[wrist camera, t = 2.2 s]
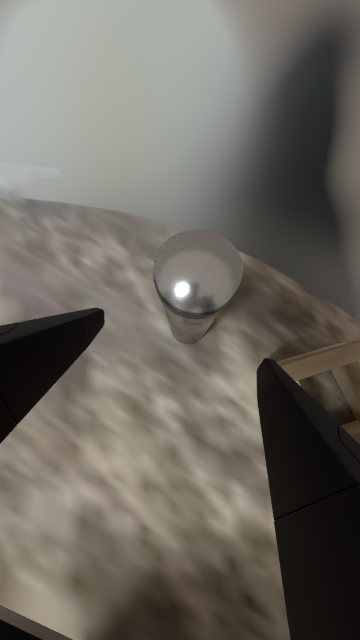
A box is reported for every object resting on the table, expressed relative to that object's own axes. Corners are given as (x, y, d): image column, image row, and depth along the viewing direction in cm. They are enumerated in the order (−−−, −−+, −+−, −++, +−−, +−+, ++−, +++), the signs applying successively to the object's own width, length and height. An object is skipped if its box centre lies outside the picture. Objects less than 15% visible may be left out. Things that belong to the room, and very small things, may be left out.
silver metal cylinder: (210, 339, 19) (260, 295, 7) (175, 349, 19) (164, 322, 7) (199, 305, 20) (225, 219, 8) (165, 315, 20) (142, 239, 8)
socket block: (377, 431, 17) (427, 448, 13) (295, 461, 16) (324, 486, 13) (331, 344, 19) (364, 339, 16) (257, 367, 18) (275, 368, 15)
